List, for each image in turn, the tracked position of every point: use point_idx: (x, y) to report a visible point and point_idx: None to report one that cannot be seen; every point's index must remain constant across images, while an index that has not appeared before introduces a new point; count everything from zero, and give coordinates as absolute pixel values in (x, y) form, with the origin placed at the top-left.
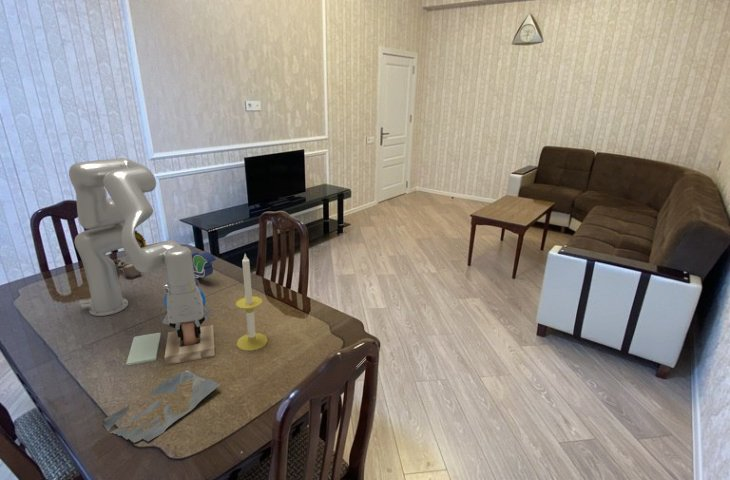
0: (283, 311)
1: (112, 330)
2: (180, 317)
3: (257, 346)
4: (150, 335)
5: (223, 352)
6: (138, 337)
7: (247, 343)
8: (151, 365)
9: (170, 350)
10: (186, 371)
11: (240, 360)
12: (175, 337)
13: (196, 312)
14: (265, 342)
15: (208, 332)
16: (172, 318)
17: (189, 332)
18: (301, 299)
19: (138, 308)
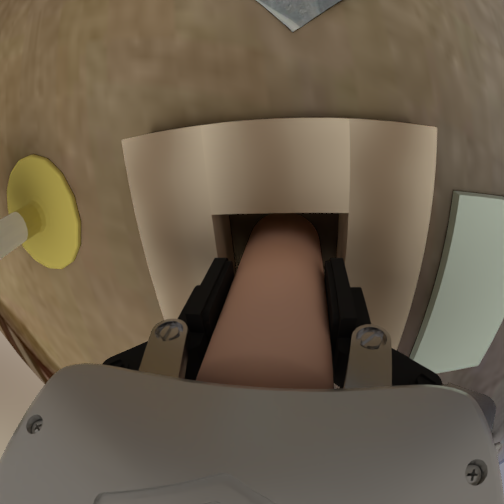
0: (34, 340)
1: (493, 393)
2: (330, 481)
3: (18, 175)
4: (439, 366)
5: (116, 158)
6: (471, 360)
7: (44, 202)
8: (470, 156)
9: (405, 192)
10: (290, 20)
11: (55, 91)
12: None
13: (52, 459)
14: (7, 195)
15: None
16: (459, 461)
17: (263, 286)
18: (27, 362)
19: None
